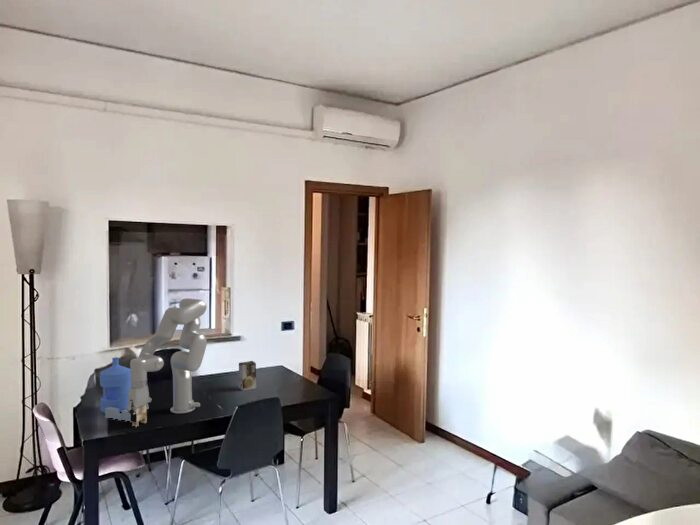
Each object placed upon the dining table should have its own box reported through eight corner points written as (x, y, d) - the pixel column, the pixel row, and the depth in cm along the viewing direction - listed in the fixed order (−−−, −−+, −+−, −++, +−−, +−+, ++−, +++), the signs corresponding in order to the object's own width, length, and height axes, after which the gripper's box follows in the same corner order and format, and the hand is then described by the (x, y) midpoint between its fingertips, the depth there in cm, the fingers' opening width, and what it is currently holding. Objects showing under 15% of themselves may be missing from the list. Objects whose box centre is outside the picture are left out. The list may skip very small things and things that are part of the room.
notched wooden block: (142, 421, 255) (142, 403, 255) (146, 422, 254) (146, 404, 254) (132, 426, 248) (131, 408, 248) (136, 427, 247) (136, 408, 247)
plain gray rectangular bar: (136, 420, 256) (136, 410, 256) (132, 422, 254) (132, 412, 254) (109, 416, 263) (109, 406, 262) (105, 418, 260) (104, 408, 260)
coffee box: (252, 386, 317) (252, 360, 316) (256, 388, 311) (256, 362, 311) (238, 388, 312) (238, 362, 311) (242, 391, 306) (242, 364, 306)
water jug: (120, 403, 284) (119, 353, 283) (138, 407, 276) (137, 356, 275) (94, 411, 271) (92, 359, 270) (112, 416, 263) (111, 362, 262)
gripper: (145, 378, 260) (146, 412, 261) (119, 387, 244) (120, 424, 244) (157, 379, 257) (157, 414, 258) (131, 389, 241) (132, 426, 242)
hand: (139, 418), depth 251 cm, fingers closed on notched wooden block, 7 cm apart
